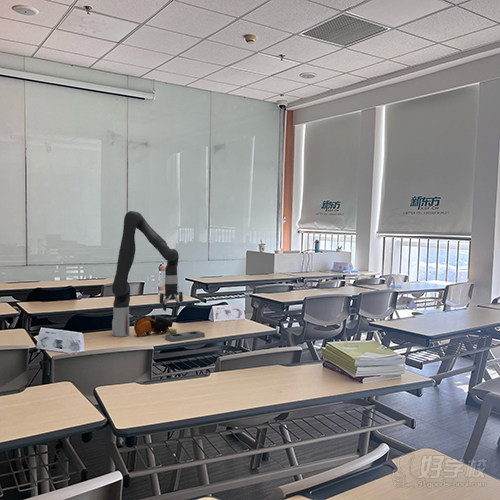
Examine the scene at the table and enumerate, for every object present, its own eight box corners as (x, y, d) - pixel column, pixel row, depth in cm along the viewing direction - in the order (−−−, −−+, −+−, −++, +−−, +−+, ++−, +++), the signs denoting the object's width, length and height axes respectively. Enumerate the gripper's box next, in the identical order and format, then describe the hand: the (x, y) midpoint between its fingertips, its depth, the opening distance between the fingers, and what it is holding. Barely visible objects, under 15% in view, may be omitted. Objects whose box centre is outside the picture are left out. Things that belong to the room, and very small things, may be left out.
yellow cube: (170, 337, 291) (170, 330, 291) (166, 336, 294) (166, 329, 294) (176, 337, 293) (176, 329, 293) (172, 335, 297) (172, 328, 296)
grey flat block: (171, 342, 279) (171, 337, 279) (165, 339, 285) (165, 335, 285) (204, 337, 293) (204, 332, 293) (197, 334, 299) (197, 330, 299)
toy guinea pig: (167, 345, 302) (175, 322, 305) (134, 335, 290) (143, 311, 292) (161, 343, 309) (169, 319, 311) (129, 333, 296) (138, 309, 299)
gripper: (178, 281, 300) (178, 308, 300) (157, 283, 291) (157, 310, 292) (184, 282, 294) (185, 309, 295) (163, 284, 285) (163, 311, 286)
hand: (171, 310), depth 293 cm, fingers open, 8 cm apart
